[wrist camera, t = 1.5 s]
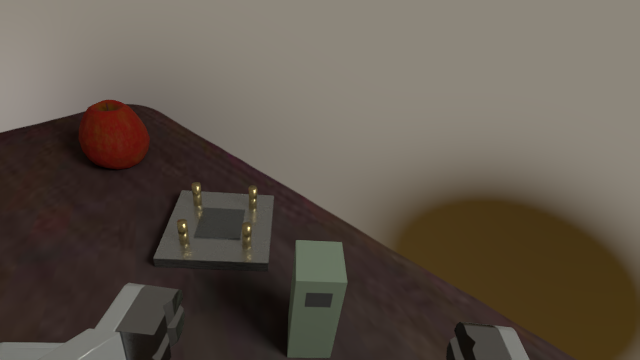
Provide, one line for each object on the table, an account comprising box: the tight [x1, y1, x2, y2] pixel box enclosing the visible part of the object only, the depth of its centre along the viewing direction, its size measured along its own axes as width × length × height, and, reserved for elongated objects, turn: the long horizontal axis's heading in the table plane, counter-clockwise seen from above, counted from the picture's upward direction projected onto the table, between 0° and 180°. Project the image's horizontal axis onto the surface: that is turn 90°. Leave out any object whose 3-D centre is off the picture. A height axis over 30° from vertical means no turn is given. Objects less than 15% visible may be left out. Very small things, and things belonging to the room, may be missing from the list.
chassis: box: [153, 182, 274, 271], centre depth 52 cm, size 14×14×5 cm
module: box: [287, 240, 347, 358], centre depth 38 cm, size 4×5×12 cm
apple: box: [79, 100, 150, 169], centre depth 62 cm, size 10×10×10 cm
